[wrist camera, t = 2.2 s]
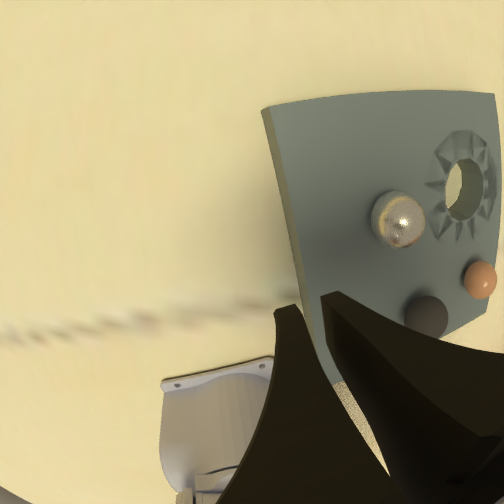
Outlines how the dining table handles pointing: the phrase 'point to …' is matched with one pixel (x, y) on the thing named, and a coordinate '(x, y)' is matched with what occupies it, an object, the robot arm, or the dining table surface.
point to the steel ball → (398, 220)
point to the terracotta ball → (480, 280)
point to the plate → (379, 183)
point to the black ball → (427, 316)
